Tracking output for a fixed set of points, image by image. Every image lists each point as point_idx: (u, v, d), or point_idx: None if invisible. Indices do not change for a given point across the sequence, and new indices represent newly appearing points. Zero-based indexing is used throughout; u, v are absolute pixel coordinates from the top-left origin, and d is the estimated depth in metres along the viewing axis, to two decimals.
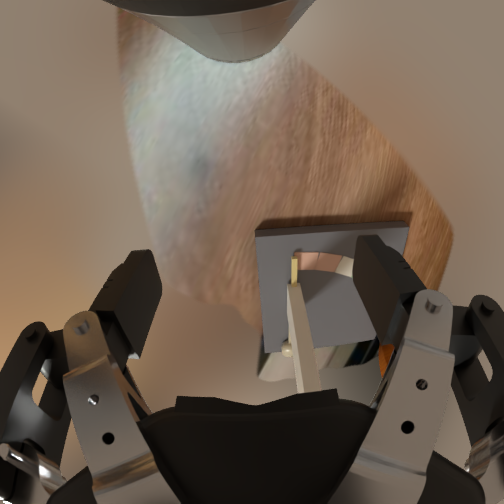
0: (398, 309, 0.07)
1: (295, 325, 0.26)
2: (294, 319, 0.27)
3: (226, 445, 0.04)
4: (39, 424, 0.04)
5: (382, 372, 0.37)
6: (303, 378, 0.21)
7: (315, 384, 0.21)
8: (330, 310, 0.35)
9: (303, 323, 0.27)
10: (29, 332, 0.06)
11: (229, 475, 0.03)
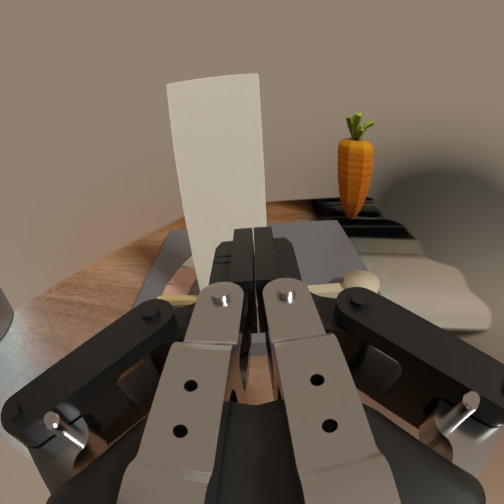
0: (261, 296, 0.08)
1: (189, 236, 0.17)
2: (191, 247, 0.18)
3: (226, 445, 0.04)
4: (111, 405, 0.05)
5: (358, 179, 0.31)
6: (173, 141, 0.14)
7: None
8: None
9: None
10: (149, 311, 0.06)
11: (229, 474, 0.03)
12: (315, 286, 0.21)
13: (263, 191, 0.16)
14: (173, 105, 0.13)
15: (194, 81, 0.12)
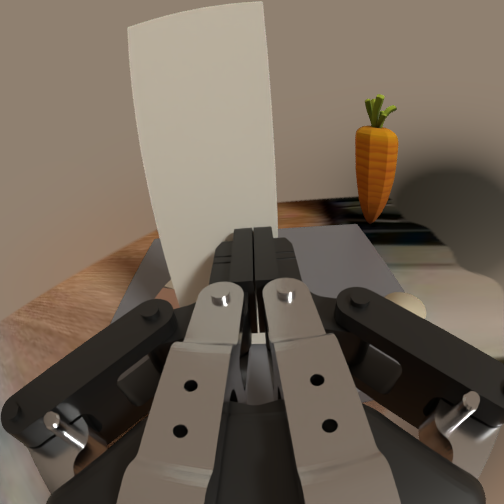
0: (261, 296, 0.08)
1: (163, 247, 0.12)
2: None
3: (226, 445, 0.04)
4: (111, 405, 0.05)
5: (381, 174, 0.24)
6: (134, 106, 0.08)
7: None
8: None
9: None
10: (149, 311, 0.06)
11: (229, 474, 0.03)
12: None
13: (273, 179, 0.10)
14: (135, 54, 0.07)
15: (166, 18, 0.06)
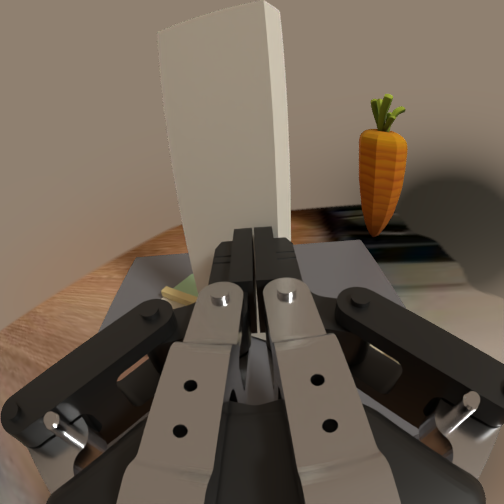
0: (261, 296, 0.08)
1: None
2: None
3: (226, 445, 0.04)
4: (111, 405, 0.05)
5: (389, 183, 0.22)
6: (164, 101, 0.10)
7: None
8: None
9: None
10: (149, 311, 0.06)
11: (229, 474, 0.03)
12: None
13: (273, 179, 0.10)
14: (163, 56, 0.09)
15: (184, 23, 0.07)
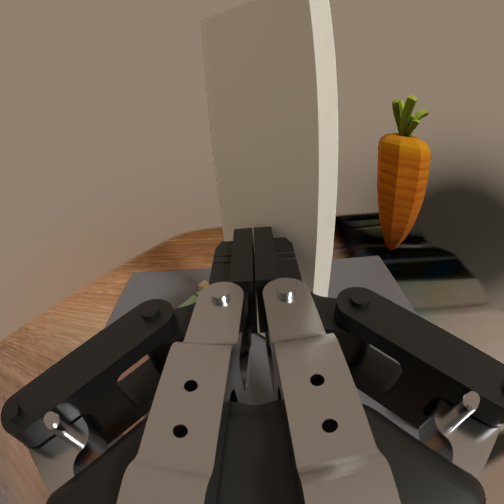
0: (261, 296, 0.08)
1: None
2: None
3: (226, 445, 0.04)
4: (111, 405, 0.05)
5: (411, 194, 0.19)
6: (208, 92, 0.10)
7: None
8: None
9: None
10: (149, 311, 0.06)
11: (229, 474, 0.03)
12: None
13: (316, 186, 0.09)
14: (207, 44, 0.08)
15: (227, 11, 0.07)
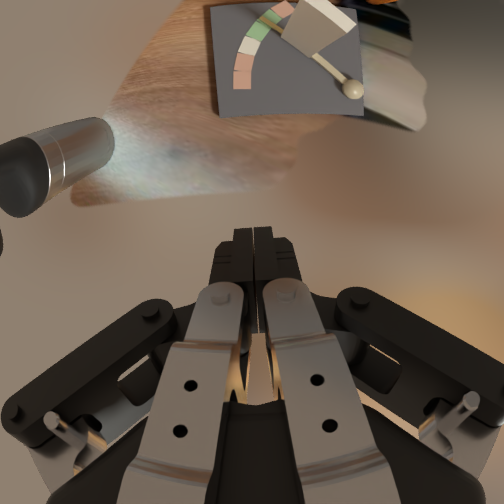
0: (261, 296, 0.08)
1: None
2: (286, 26, 0.23)
3: (226, 445, 0.04)
4: (111, 405, 0.05)
5: (386, 0, 0.20)
6: None
7: None
8: None
9: None
10: (149, 311, 0.06)
11: (229, 474, 0.03)
12: (335, 69, 0.30)
13: (325, 45, 0.22)
14: (300, 4, 0.15)
15: (315, 8, 0.15)
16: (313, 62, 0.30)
